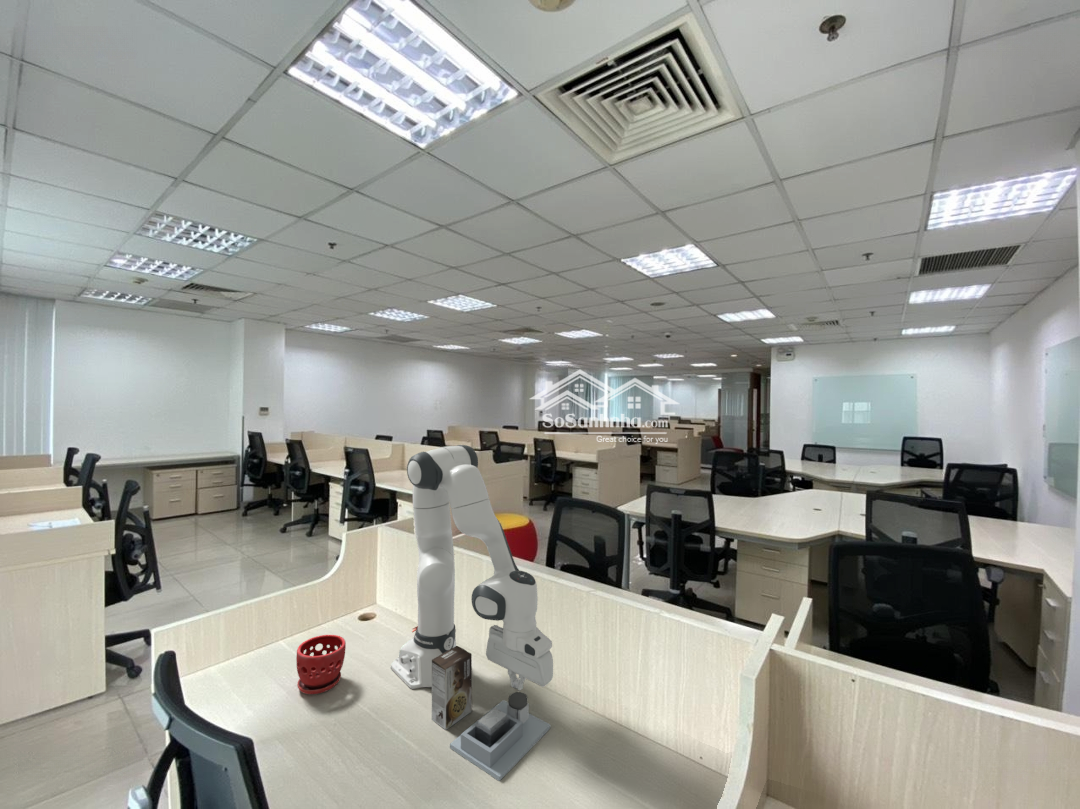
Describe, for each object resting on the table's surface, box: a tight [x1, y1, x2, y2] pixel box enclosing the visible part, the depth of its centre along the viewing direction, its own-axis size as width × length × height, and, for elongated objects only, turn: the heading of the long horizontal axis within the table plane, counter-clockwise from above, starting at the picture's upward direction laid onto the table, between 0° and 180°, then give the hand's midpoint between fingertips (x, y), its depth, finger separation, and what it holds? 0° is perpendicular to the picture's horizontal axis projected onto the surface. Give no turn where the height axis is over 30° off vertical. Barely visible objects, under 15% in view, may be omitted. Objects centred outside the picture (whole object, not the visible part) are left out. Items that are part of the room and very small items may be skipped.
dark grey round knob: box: [507, 691, 528, 709], centre depth 116 cm, size 5×5×5 cm
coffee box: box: [431, 645, 473, 730], centre depth 119 cm, size 9×6×16 cm
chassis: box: [449, 699, 551, 782], centre depth 111 cm, size 16×20×5 cm
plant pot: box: [295, 634, 347, 695], centre depth 132 cm, size 13×13×12 cm
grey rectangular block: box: [475, 708, 510, 748], centre depth 108 cm, size 5×7×6 cm
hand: (516, 687), depth 117 cm, fingers closed
